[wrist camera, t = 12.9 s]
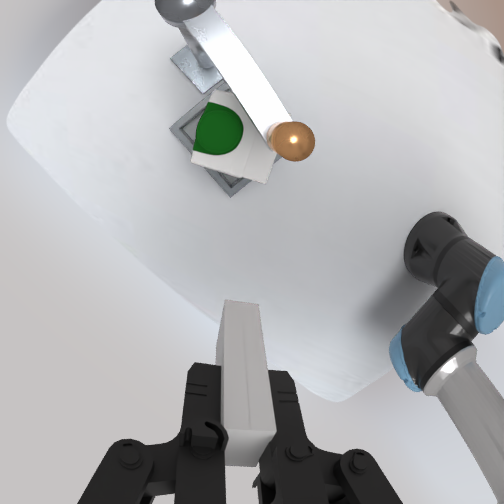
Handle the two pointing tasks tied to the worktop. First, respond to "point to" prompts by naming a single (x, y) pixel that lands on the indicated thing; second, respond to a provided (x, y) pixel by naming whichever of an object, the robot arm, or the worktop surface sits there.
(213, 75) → the post
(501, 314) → the robot arm
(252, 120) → the crank handle
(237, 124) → the soya milk
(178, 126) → the socket frame
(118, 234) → the worktop surface
